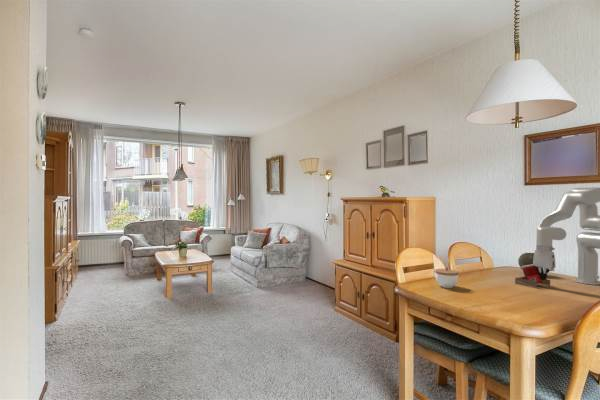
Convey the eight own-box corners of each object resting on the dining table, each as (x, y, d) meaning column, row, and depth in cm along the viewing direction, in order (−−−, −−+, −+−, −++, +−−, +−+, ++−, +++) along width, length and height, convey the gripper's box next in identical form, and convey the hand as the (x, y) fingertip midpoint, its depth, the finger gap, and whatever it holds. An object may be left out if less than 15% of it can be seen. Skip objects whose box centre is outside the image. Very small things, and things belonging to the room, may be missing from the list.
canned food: (546, 282, 194) (539, 263, 197) (533, 284, 194) (526, 265, 197) (537, 282, 202) (530, 264, 205) (524, 284, 201) (518, 266, 204)
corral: (529, 281, 208) (529, 275, 208) (550, 285, 197) (550, 280, 197) (515, 283, 202) (515, 277, 202) (536, 288, 191) (536, 282, 191)
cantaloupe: (538, 273, 233) (538, 251, 233) (546, 277, 219) (547, 255, 219) (515, 271, 237) (515, 250, 237) (522, 275, 223) (522, 253, 223)
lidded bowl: (451, 290, 184) (452, 270, 184) (430, 285, 194) (430, 267, 194) (462, 287, 192) (462, 268, 192) (441, 282, 202) (441, 264, 202)
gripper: (562, 250, 189) (561, 282, 189) (534, 246, 202) (533, 276, 202) (554, 250, 186) (554, 283, 186) (526, 246, 199) (526, 277, 199)
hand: (543, 279), depth 194 cm, fingers closed
